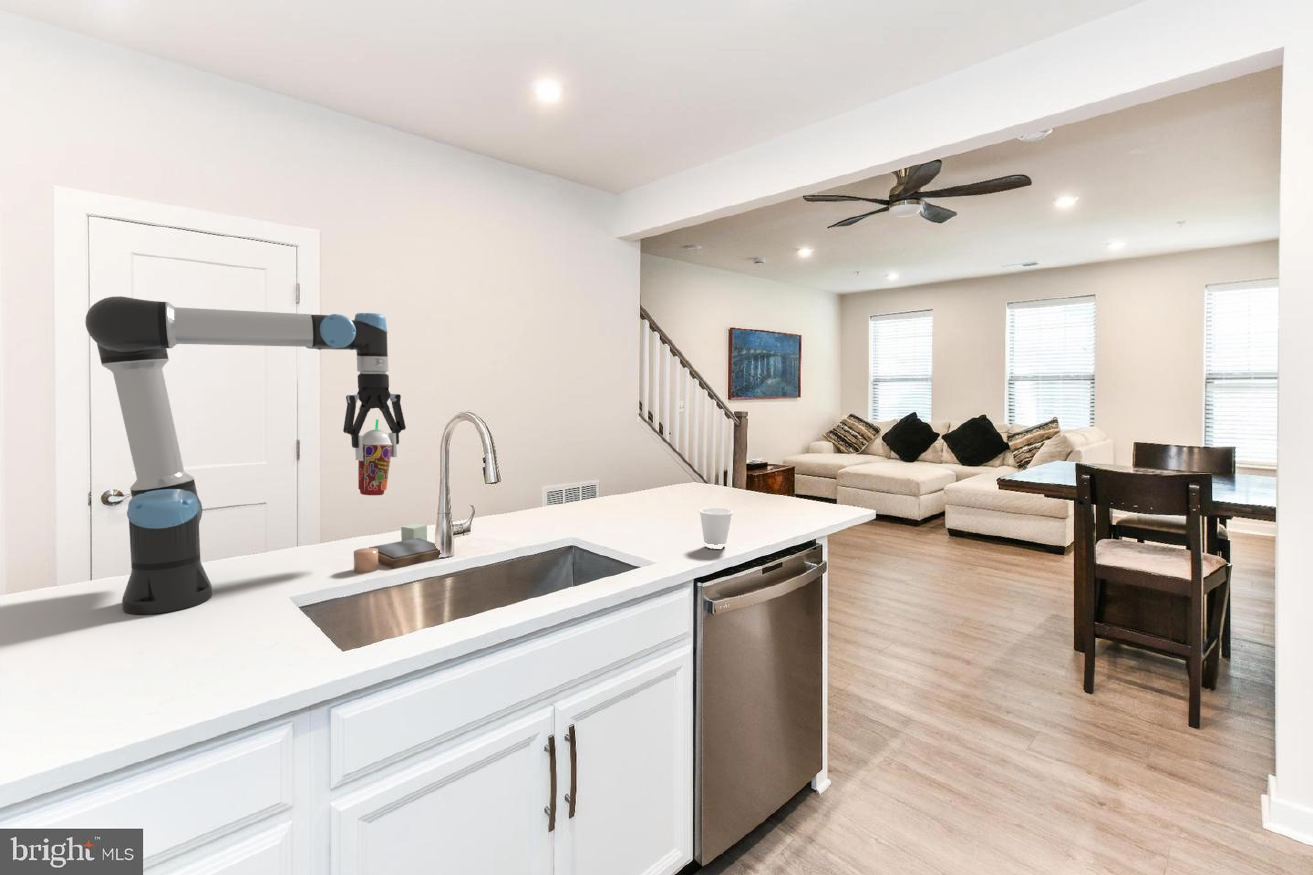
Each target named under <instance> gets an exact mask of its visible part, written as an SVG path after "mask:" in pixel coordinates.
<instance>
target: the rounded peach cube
mask: <svg viewBox="0 0 1313 875" xmlns="http://www.w3.org/2000/svg"><path fill="white" fill-rule="evenodd" d="M377 571H379V563H378V549H376V548H369V547H364V548H362V547H361V548H359V549H355V550H354V551H353V572H354V573H355V574H356V573H357V574H370V573H373V572H374V573H375V572H377Z"/></svg>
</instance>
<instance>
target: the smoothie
mask: <svg viewBox="0 0 1313 875" xmlns="http://www.w3.org/2000/svg"><path fill="white" fill-rule="evenodd" d="M361 436H362V439H363V461H359V460H357V462H358V466H357V467H358V469H357V473H358V475H357V476H358V479H357V480H358V485H357V487H358V488H357V489H358V490H359V493H360V494H361V495H364V496H382V495H384V494H385V491H387V488H388V487H387V486H388V480H389V473H390V464H391V458H392V457H391V451H392V445H393V444H392V443H391V440H390V438H389V436H388V434H387V433H386V432H384V431H383V430H380V429H379V419H378V418H377V419H375V428H374V429H371V430H368V431H366V432H365V433H364V434H362V435H361Z"/></svg>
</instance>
